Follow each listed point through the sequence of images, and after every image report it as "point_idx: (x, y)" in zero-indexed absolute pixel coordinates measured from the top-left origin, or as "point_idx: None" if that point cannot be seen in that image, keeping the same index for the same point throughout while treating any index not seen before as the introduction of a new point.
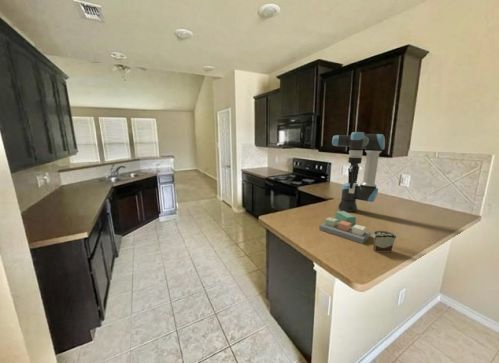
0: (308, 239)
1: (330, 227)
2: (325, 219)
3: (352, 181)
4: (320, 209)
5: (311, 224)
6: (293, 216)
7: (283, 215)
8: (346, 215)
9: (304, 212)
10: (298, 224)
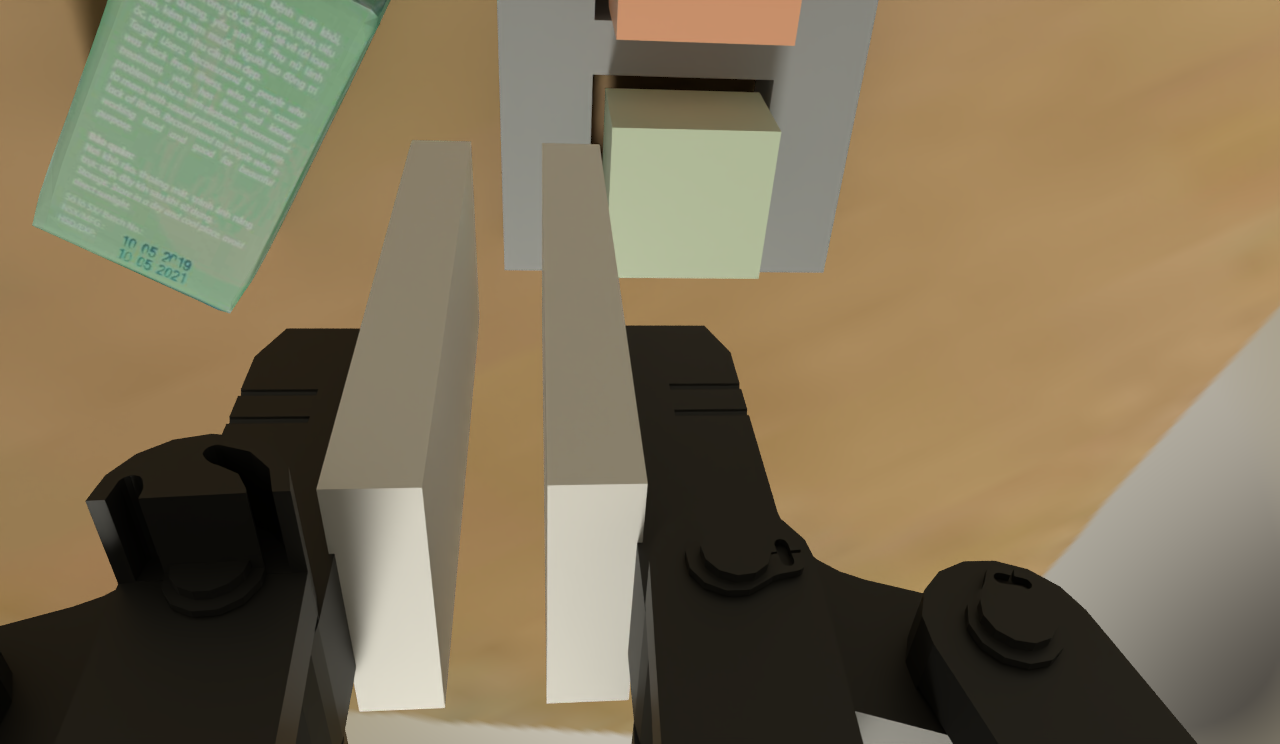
0: (1186, 200)
1: (797, 125)
2: (758, 275)
3: (1079, 699)
4: (38, 549)
5: None
6: None
7: None
8: (263, 79)
9: None
10: (805, 474)
